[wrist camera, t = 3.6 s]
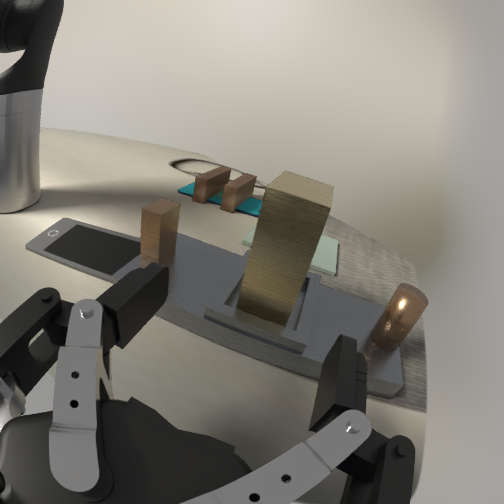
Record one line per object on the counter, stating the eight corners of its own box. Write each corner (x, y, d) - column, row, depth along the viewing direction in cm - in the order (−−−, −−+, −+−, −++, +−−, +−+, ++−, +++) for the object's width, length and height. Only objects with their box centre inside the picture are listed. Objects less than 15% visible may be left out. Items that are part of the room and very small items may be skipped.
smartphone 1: (161, 248, 31) (162, 243, 30) (128, 291, 23) (128, 285, 23) (65, 221, 31) (64, 216, 30) (24, 251, 24) (23, 245, 23)
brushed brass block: (235, 311, 21) (266, 186, 16) (257, 273, 26) (285, 170, 21) (284, 329, 21) (331, 207, 16) (297, 287, 26) (333, 186, 21)
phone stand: (192, 200, 43) (195, 176, 42) (217, 186, 52) (221, 166, 50) (232, 213, 42) (237, 188, 40) (252, 196, 51) (256, 176, 49)
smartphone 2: (196, 180, 51) (271, 202, 49) (195, 184, 52) (270, 206, 49) (176, 190, 45) (259, 216, 43) (175, 194, 46) (258, 221, 43)
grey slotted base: (114, 293, 22) (109, 221, 19) (171, 246, 31) (177, 187, 27) (389, 399, 18) (441, 341, 15) (384, 323, 27) (416, 270, 23)
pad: (241, 243, 35) (242, 240, 35) (263, 217, 43) (264, 215, 43) (334, 276, 33) (335, 272, 33) (336, 243, 41) (338, 240, 41)
